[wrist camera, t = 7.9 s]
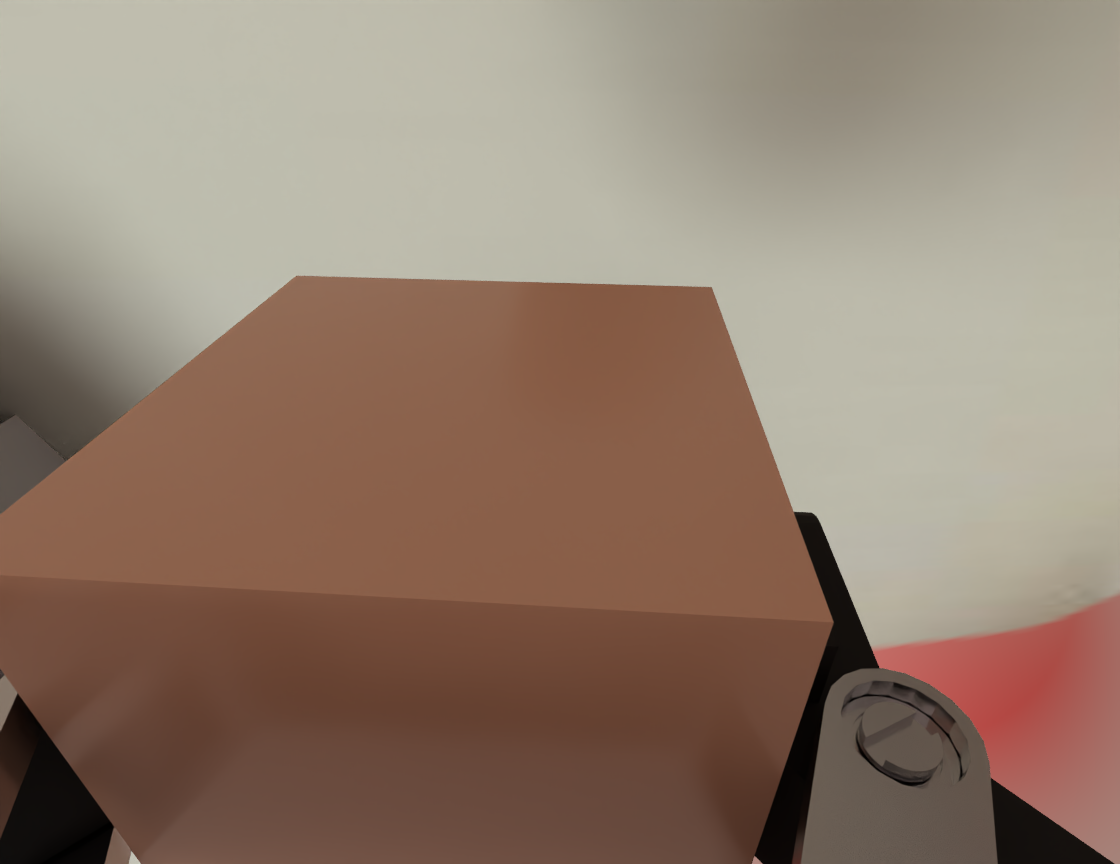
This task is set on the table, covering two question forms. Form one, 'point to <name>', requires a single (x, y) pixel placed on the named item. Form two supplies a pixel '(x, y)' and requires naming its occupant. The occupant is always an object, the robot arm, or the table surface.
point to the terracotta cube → (426, 586)
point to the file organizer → (22, 461)
